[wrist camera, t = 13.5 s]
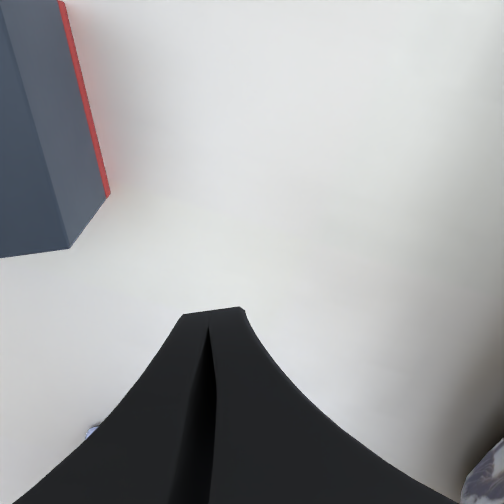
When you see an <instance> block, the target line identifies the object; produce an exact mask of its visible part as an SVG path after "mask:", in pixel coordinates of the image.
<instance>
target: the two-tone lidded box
mask: <svg viewBox="0 0 504 504" xmlns="http://www.w3.org/2000/svg"><path fill="white" fill-rule="evenodd" d="M110 193H111V192H110V188H109V184H108V180H107V176H106V172H105V168H104V163H103V159H102V155H101V151H100V147H99V143H98V139H97V135H96V131H95V126H94V122H93V118H92V114H91V110H90V106H89V102H88V98H87V94H86V89H85V85H84V81H83V77H82V73H81V69H80V65H79V61H78V57H77V52H76V48H75V44H74V40H73V36H72V32H71V28H70V24H69V20H68V15H67V11H66V7H65V3H64V2H62V1H59V0H0V258H6V257H13V256H20V255H27V254H35V253H42V252H49V251H57V250H64V249H69V248H70V247H71V246H72V245H73V243H74V242H75V241H76V239H77V238H78V237H79V235H80V234H81V233H82V231H83V230H84V228H85V227H86V226H87V224H88V223H89V222H90V220H91V219H92V218H93V216H94V215H95V214H96V212H97V211H98V209H99V208H100V207H101V205H102V204H103V203H104V201H105V200H106V199H107V198H108V196H109V195H110Z"/></svg>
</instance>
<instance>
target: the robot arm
mask: <svg viewBox="0 0 504 504" xmlns="http://www.w3.org/2000/svg"><path fill="white" fill-rule="evenodd" d="M85 439H86V440H85V441H84V442H83V443H82V444H81V445H80V446H79V447H78V448H77V449H75V450H74V451H73V452H72V453H71V454H70V455H69V456H68V457H66V458H65V459H64V460H63V461H62V462H61V463H60V464H59V465H57V466H56V467H55V468H54V469H53V470H52V471H51V472H50V473H48V474H47V475H46V476H45V477H44V478H43V479H42V480H41V481H39V482H38V483H37V484H36V485H35V486H34V487H33V488H31V489H30V490H29V491H28V492H26V493H25V494H24V495H23V496H21V497H20V498H19V499H18V500H16V501H15V502H14V503H13V504H458V503H457V502H455V501H453V500H451V499H449V498H447V497H445V496H444V495H442V494H440V493H438V492H436V491H434V490H433V489H431V488H429V487H427V486H425V485H423V484H421V483H420V482H418V481H416V480H414V479H413V478H411V477H409V476H408V475H406V474H405V473H403V472H401V471H400V470H398V469H397V468H395V467H394V466H392V465H391V464H389V463H387V462H386V461H384V460H383V459H382V458H380V457H379V456H378V455H376V454H375V453H374V452H372V451H371V450H369V449H368V448H367V447H365V446H364V445H363V444H361V443H360V442H359V441H357V440H356V439H355V438H353V437H352V436H351V435H349V434H348V433H346V432H345V431H344V430H343V429H341V428H340V427H339V426H338V425H337V424H335V423H334V422H333V421H332V420H331V419H330V418H328V417H327V416H326V415H325V414H324V413H323V412H322V411H321V410H319V409H318V408H317V407H316V406H315V405H314V404H313V403H312V402H311V401H310V400H309V399H308V398H307V397H306V396H305V395H304V394H303V393H302V392H301V391H300V390H299V389H298V388H297V387H296V386H295V385H294V384H293V383H292V381H291V380H290V379H289V378H288V377H287V376H286V375H285V373H284V372H283V371H282V370H281V369H280V367H279V366H278V365H277V364H276V362H275V361H274V360H273V359H272V357H271V356H270V354H269V353H268V352H267V350H266V349H265V348H264V346H263V345H262V343H261V342H260V340H259V339H258V337H257V336H256V334H255V332H254V331H253V329H252V327H251V325H250V323H249V321H248V319H247V316H246V313H245V310H243V309H242V308H241V307H232V308H225V309H218V310H210V311H203V312H196V313H189V314H183V315H182V316H181V317H180V319H179V320H178V321H177V323H176V325H175V326H174V328H173V329H172V331H171V333H170V334H169V336H168V337H167V339H166V341H165V342H164V344H163V345H162V347H161V348H160V350H159V351H158V353H157V354H156V355H155V357H154V358H153V360H152V361H151V363H150V364H149V365H148V367H147V368H146V370H145V371H144V372H143V374H142V375H141V377H140V378H139V379H138V380H137V382H136V383H135V384H134V385H133V387H132V388H131V389H130V390H129V392H128V393H127V394H126V395H125V397H124V398H123V399H122V400H121V402H120V403H119V404H118V405H117V407H116V408H115V409H114V410H113V411H112V412H111V413H110V415H109V416H108V417H107V418H106V419H105V420H104V421H103V422H102V423H101V424H100V425H99V426H97V427H92V428H90V429H89V430H88V432H87V434H86V437H85Z"/></svg>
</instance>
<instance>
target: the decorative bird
mask: <svg viewBox="0 0 504 504" xmlns="http://www.w3.org/2000/svg"><path fill="white" fill-rule="evenodd" d="M460 504H504V437H503V438H502V439H501V440H500V441H499V443H497V444H496V445H495V446H494V447H493V448H492V449H491V450H490V451H489V452H488V453H487V454H486V455H485V456H484V457H483V459H482V460H481V461H480V462H479V463H478V464H477V466H476V467H475V468H474V469H473V470H472V471H471V472H470V473H469V474H468V476H467V477H466V480H465V483H464V486H463V489H462V492H461V503H460Z"/></svg>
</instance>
